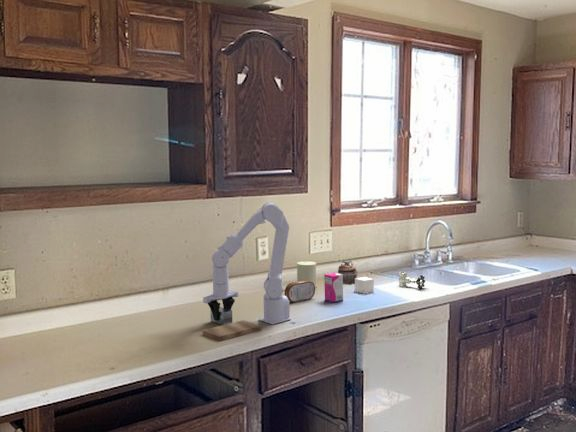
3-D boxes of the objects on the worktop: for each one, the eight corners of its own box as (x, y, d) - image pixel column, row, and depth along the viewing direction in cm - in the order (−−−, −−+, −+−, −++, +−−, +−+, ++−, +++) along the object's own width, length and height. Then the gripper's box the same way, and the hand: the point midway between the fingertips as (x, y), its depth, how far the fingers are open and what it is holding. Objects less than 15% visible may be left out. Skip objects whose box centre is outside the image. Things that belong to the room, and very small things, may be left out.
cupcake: (338, 283, 280) (338, 263, 279) (337, 279, 290) (337, 259, 289) (358, 283, 280) (358, 263, 279) (356, 279, 290) (356, 259, 289)
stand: (243, 324, 215) (243, 320, 215) (260, 330, 208) (260, 325, 207) (202, 334, 203) (202, 330, 203) (219, 341, 196) (219, 336, 195)
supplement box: (334, 298, 252) (334, 272, 251) (343, 301, 247) (343, 274, 246) (324, 300, 249) (324, 273, 248) (332, 303, 244) (332, 276, 243)
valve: (395, 286, 274) (418, 290, 266) (395, 273, 273) (418, 276, 265) (402, 284, 279) (425, 288, 271) (402, 270, 278) (425, 274, 270)
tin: (312, 297, 255) (311, 278, 254) (316, 298, 252) (316, 279, 251) (284, 302, 246) (283, 283, 245) (288, 304, 243) (288, 284, 242)
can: (314, 284, 279) (314, 260, 277) (318, 289, 270) (318, 263, 268) (295, 285, 277) (295, 260, 276) (298, 289, 268) (298, 264, 267)
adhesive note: (373, 292, 264) (373, 279, 263) (363, 294, 260) (363, 280, 260) (364, 289, 269) (365, 276, 268) (354, 291, 265) (354, 278, 265)
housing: (219, 319, 221) (219, 306, 221) (232, 323, 215) (232, 310, 215) (210, 321, 218) (210, 308, 218) (223, 325, 213) (223, 312, 212)
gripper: (230, 278, 223) (230, 313, 224) (198, 284, 213) (198, 320, 215) (241, 281, 218) (242, 316, 219) (209, 287, 208) (209, 324, 210)
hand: (221, 318), depth 217 cm, fingers closed on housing, 4 cm apart
